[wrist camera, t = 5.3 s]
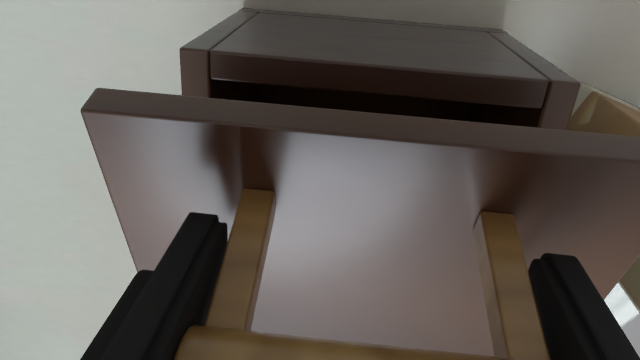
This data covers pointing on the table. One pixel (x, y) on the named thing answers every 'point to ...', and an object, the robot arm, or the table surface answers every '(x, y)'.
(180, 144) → the lid
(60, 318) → the table surface
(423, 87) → the chest
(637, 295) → the cosmetic box
